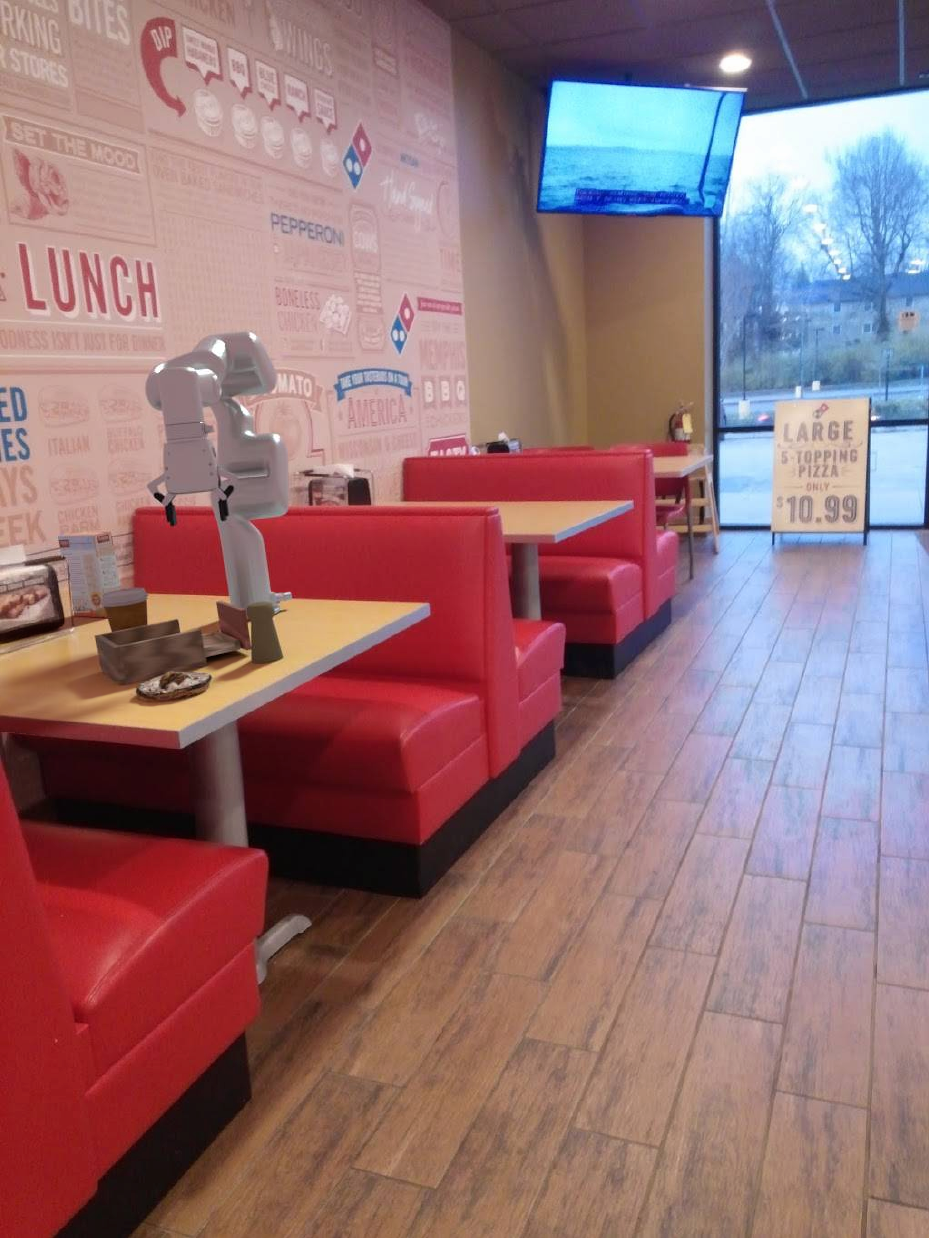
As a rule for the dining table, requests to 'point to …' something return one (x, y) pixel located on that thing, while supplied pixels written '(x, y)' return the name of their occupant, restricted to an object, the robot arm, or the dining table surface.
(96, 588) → the cracker box
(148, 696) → the pie
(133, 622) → the disposable coffee cup
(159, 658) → the caddy
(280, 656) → the olive green pawn
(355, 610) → the dining table surface
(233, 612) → the drawer
